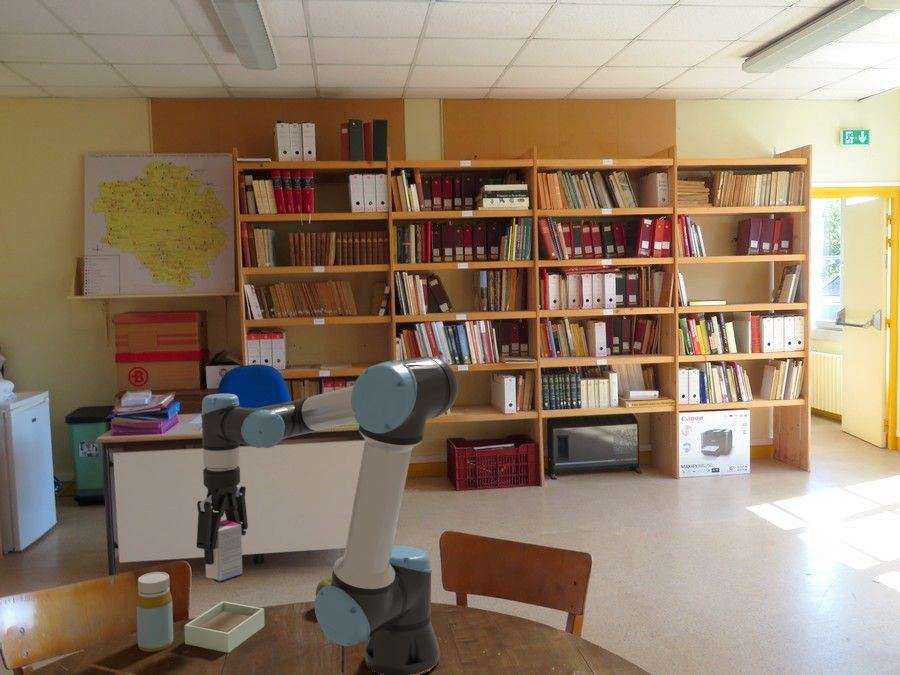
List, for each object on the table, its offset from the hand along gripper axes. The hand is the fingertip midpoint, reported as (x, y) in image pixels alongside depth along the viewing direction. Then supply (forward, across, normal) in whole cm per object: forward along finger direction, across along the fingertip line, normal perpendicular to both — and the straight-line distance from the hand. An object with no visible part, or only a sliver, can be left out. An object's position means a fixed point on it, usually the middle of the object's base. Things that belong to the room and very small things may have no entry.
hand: (223, 570), depth 170 cm
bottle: (+15, +9, -11) cm, 21 cm away
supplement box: (+1, 0, 0) cm, 1 cm away
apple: (+15, -20, +15) cm, 30 cm away
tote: (+15, 0, 0) cm, 15 cm away
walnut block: (+14, 0, 0) cm, 14 cm away
